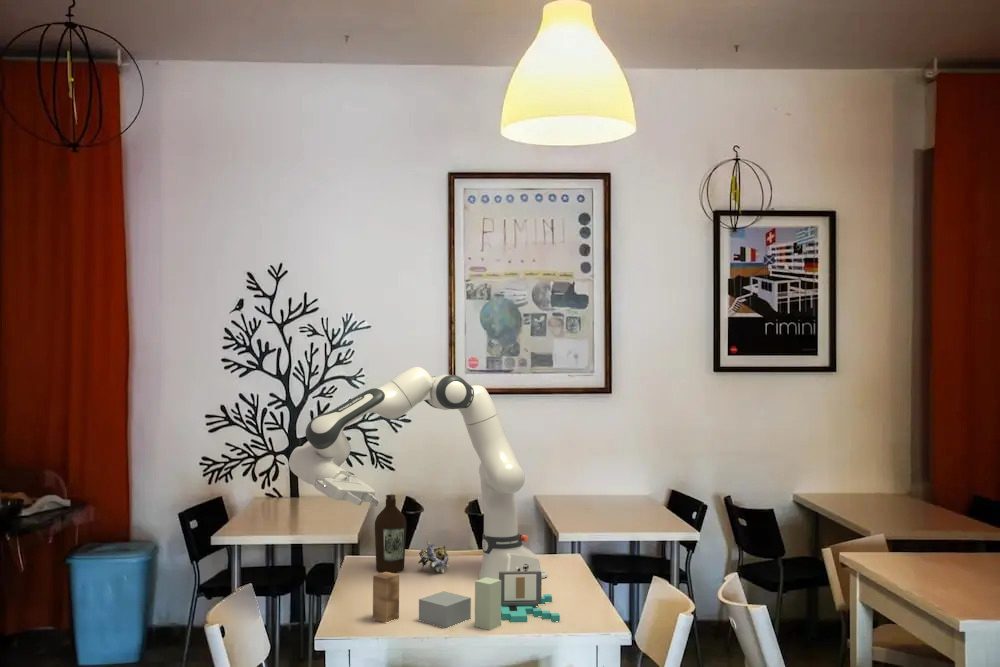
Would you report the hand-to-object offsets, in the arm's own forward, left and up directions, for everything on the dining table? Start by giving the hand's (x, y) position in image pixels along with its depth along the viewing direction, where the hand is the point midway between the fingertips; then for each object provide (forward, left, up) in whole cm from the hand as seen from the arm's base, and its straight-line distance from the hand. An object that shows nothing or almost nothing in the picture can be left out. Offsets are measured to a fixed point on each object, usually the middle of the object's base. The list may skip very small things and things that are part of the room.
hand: (369, 503), depth 237 cm
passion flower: (-33, -29, -30) cm, 53 cm away
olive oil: (-21, -37, -30) cm, 52 cm away
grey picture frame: (-37, +22, -28) cm, 51 cm away
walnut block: (-1, +11, -30) cm, 32 cm away
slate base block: (-15, +19, -30) cm, 39 cm away
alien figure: (-37, +22, -30) cm, 53 cm away
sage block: (-23, +29, -30) cm, 48 cm away
